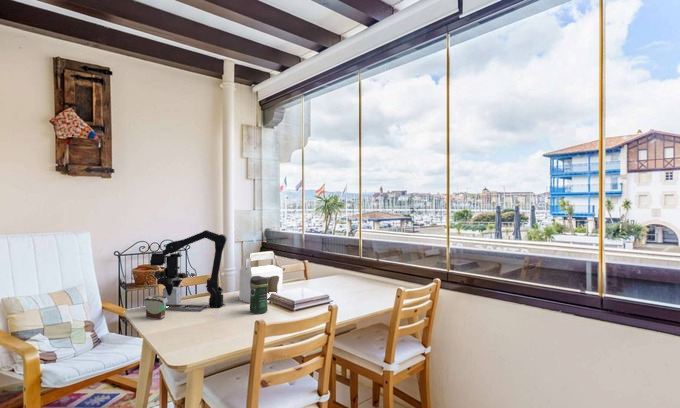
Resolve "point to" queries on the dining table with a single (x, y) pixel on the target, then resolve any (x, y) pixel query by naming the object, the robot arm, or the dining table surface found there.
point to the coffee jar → (258, 294)
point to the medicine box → (173, 296)
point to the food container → (155, 306)
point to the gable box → (260, 274)
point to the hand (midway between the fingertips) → (171, 294)
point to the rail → (182, 307)
